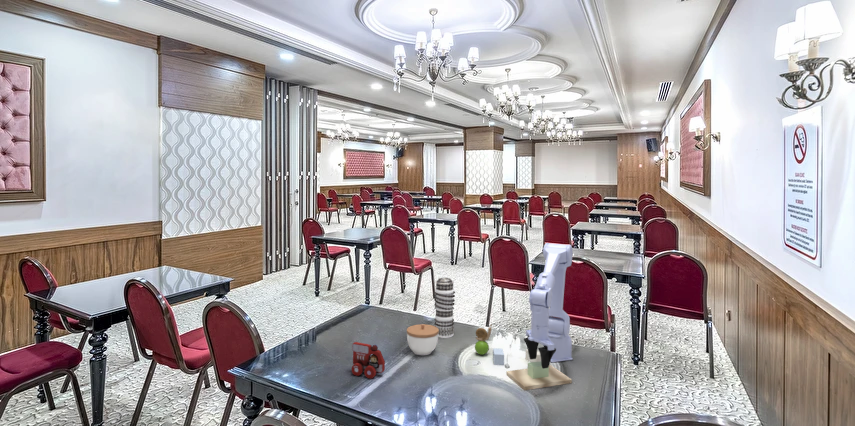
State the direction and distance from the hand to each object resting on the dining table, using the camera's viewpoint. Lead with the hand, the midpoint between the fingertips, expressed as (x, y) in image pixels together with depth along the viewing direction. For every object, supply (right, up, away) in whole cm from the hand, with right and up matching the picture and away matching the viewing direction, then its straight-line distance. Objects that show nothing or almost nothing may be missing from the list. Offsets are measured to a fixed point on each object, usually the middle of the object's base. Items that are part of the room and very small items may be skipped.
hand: (538, 363), depth 146 cm
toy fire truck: (-59, -5, +3) cm, 59 cm away
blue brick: (-11, -5, +14) cm, 19 cm away
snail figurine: (-16, -4, +21) cm, 27 cm away
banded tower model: (-31, -3, +43) cm, 53 cm away
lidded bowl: (-40, -4, +23) cm, 46 cm away
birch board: (0, -5, 0) cm, 5 cm away
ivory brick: (+2, -5, +15) cm, 15 cm away
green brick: (0, -4, 0) cm, 4 cm away
